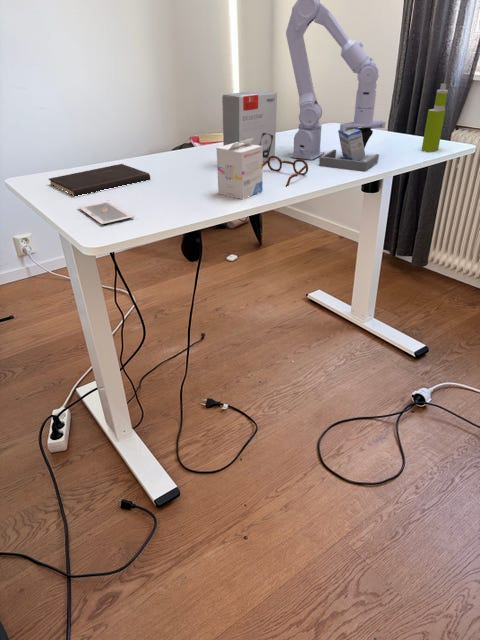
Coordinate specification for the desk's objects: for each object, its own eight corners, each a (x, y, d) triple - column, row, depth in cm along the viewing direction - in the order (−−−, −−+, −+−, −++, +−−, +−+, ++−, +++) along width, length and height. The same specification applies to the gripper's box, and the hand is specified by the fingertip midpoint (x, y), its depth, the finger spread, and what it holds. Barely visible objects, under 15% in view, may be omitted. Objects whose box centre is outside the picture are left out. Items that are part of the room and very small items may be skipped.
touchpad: (109, 204, 122) (107, 196, 120) (135, 221, 111) (134, 211, 110) (78, 211, 118) (76, 202, 117) (102, 228, 107) (101, 219, 106)
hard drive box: (238, 168, 147) (237, 96, 137) (222, 164, 152) (220, 94, 142) (276, 160, 155) (277, 91, 145) (260, 156, 160) (260, 89, 150)
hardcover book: (50, 186, 136) (48, 178, 135) (122, 171, 149) (121, 163, 148) (75, 199, 126) (73, 190, 125) (150, 181, 139) (150, 173, 138)
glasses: (308, 177, 140) (309, 159, 137) (286, 189, 130) (287, 170, 128) (268, 171, 146) (268, 154, 143) (245, 182, 136) (245, 164, 134)
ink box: (238, 186, 132) (237, 134, 125) (263, 191, 127) (263, 137, 120) (217, 194, 126) (215, 140, 119) (242, 200, 121) (241, 144, 114)
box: (365, 171, 142) (366, 162, 140) (319, 165, 148) (319, 157, 147) (377, 162, 150) (378, 154, 149) (333, 157, 157) (333, 149, 155)
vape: (440, 149, 163) (452, 83, 153) (429, 152, 160) (441, 85, 150) (430, 147, 166) (442, 83, 155) (419, 150, 163) (430, 84, 152)
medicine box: (342, 156, 157) (337, 130, 153) (355, 151, 157) (350, 124, 153) (353, 162, 151) (347, 135, 146) (366, 157, 151) (361, 129, 146)
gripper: (379, 104, 153) (373, 148, 160) (337, 107, 150) (333, 152, 157) (391, 107, 148) (385, 153, 155) (347, 110, 144) (343, 157, 151)
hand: (359, 153), depth 155 cm, fingers closed
